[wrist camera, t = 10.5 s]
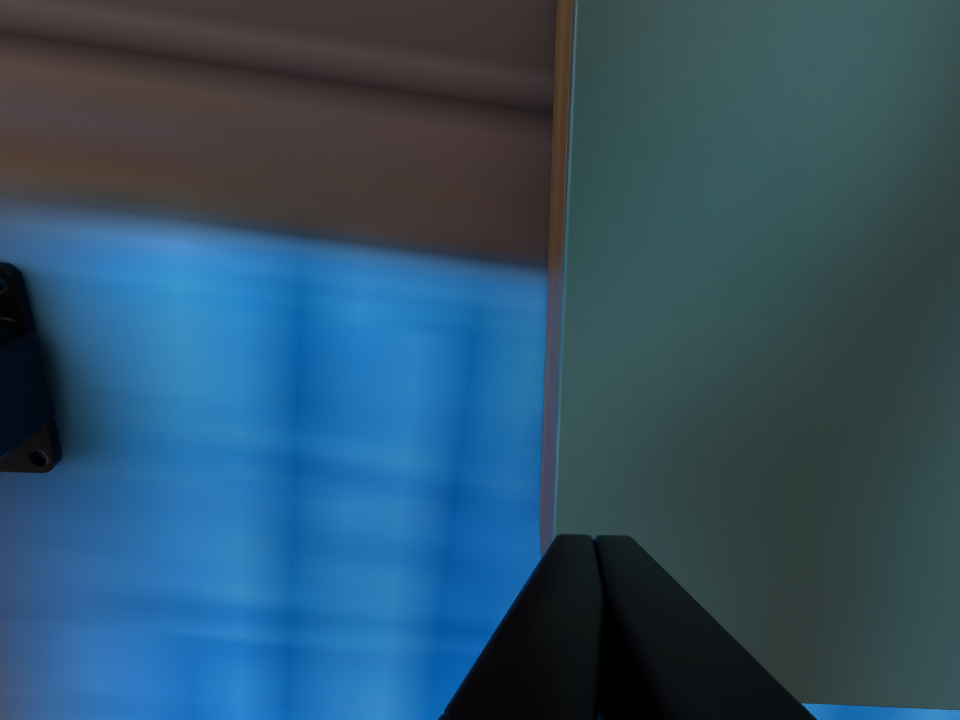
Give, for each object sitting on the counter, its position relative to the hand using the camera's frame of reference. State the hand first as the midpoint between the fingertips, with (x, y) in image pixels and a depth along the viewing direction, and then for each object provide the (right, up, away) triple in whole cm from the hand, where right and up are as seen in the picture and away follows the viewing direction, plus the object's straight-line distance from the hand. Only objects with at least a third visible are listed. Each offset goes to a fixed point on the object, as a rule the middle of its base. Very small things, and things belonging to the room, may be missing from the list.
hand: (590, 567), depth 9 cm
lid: (+7, +2, +6) cm, 9 cm away
